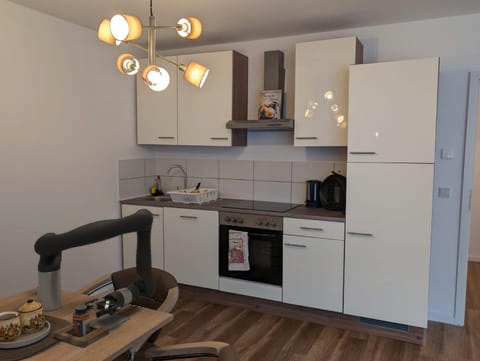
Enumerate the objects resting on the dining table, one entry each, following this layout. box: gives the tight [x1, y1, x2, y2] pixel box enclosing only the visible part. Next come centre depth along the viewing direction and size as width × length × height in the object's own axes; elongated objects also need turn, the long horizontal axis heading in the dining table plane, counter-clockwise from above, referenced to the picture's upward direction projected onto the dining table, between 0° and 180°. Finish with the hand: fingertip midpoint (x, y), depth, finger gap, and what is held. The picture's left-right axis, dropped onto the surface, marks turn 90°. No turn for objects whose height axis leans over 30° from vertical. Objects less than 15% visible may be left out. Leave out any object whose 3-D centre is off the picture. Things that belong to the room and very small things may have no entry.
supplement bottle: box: [72, 304, 91, 338], centre depth 153 cm, size 6×6×11 cm
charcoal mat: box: [90, 313, 131, 331], centre depth 166 cm, size 12×12×1 cm
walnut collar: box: [52, 323, 110, 348], centre depth 154 cm, size 16×12×2 cm
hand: (88, 313), depth 156 cm, fingers open, 8 cm apart
